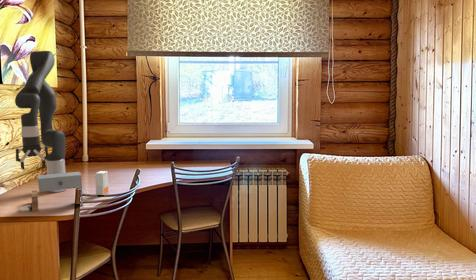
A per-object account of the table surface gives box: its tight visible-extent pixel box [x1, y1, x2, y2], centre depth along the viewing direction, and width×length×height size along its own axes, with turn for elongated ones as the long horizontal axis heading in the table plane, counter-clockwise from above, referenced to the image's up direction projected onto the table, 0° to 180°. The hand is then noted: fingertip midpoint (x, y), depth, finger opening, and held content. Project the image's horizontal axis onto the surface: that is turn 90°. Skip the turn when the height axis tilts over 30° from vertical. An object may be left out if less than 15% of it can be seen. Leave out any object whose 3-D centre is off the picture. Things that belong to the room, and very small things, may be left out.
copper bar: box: [31, 189, 39, 213], centre depth 203 cm, size 18×2×6 cm, turn 25°
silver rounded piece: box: [19, 204, 32, 213], centre depth 196 cm, size 5×5×2 cm
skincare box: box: [94, 170, 109, 196], centre depth 224 cm, size 6×4×12 cm
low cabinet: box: [37, 171, 84, 207], centre depth 201 cm, size 10×18×15 cm, turn 115°
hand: (33, 168), depth 206 cm, fingers open, 8 cm apart
